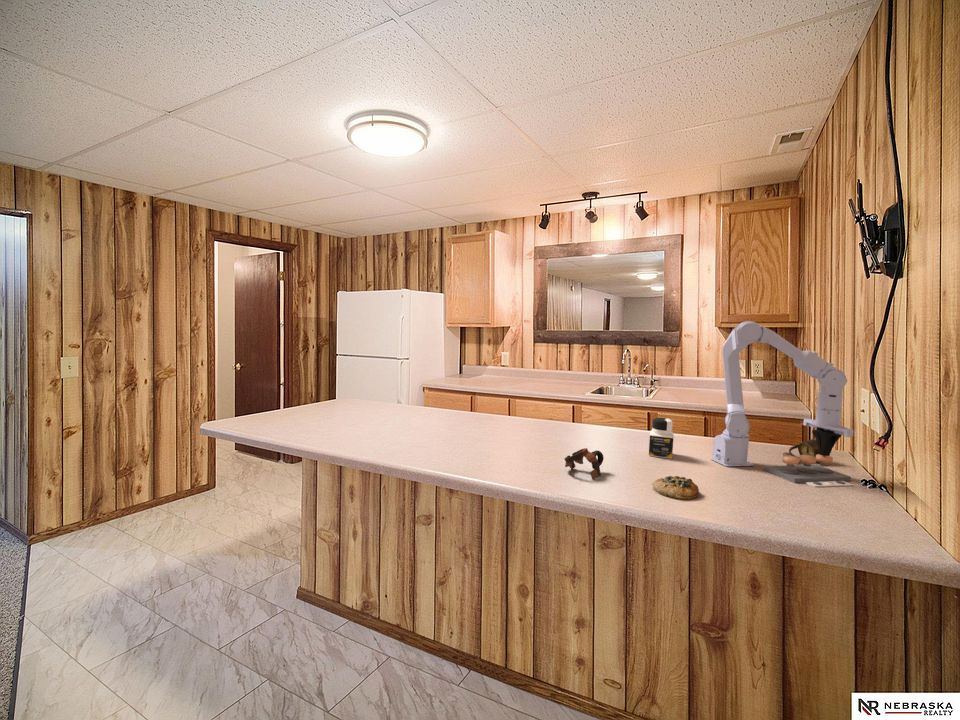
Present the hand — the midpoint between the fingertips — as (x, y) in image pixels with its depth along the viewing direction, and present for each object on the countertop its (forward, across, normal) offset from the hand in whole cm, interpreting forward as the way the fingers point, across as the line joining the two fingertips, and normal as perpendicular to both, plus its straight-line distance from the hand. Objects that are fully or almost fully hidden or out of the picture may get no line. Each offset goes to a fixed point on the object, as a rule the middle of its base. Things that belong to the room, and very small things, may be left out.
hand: (824, 455), depth 139 cm
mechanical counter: (+6, +13, -6) cm, 16 cm away
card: (+6, -8, +6) cm, 11 cm away
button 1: (+3, 0, +11) cm, 11 cm away
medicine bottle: (+6, +23, +38) cm, 45 cm away
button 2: (+3, 0, 0) cm, 3 cm away
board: (+6, 0, +6) cm, 8 cm away
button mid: (+3, 0, +5) cm, 6 cm away
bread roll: (+6, -9, +52) cm, 53 cm away
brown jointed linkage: (+6, +7, +70) cm, 71 cm away
